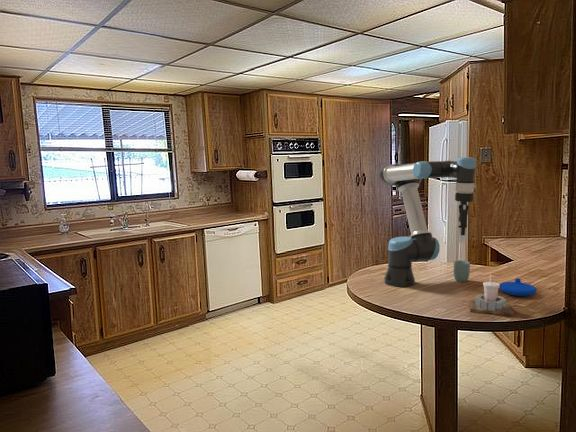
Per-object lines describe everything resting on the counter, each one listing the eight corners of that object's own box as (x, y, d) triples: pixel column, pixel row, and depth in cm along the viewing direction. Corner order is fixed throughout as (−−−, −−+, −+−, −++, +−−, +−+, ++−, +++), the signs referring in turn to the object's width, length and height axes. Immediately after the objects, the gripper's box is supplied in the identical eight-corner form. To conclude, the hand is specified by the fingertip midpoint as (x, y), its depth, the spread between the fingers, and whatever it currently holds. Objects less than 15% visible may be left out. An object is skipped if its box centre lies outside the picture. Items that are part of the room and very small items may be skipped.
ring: (476, 309, 181) (476, 301, 180) (474, 300, 191) (474, 293, 191) (507, 312, 177) (507, 303, 176) (503, 303, 188) (504, 295, 187)
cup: (470, 283, 222) (471, 264, 221) (454, 282, 224) (455, 263, 223) (467, 279, 230) (468, 260, 229) (452, 278, 231) (452, 260, 230)
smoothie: (478, 303, 187) (480, 272, 185) (493, 303, 188) (495, 271, 186) (486, 308, 181) (488, 276, 179) (501, 308, 181) (503, 275, 180)
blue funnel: (515, 287, 215) (516, 273, 214) (544, 296, 200) (545, 281, 199) (491, 291, 210) (491, 276, 209) (518, 300, 195) (519, 285, 194)
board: (470, 311, 181) (470, 308, 181) (468, 302, 193) (469, 300, 192) (513, 315, 176) (513, 313, 176) (509, 306, 187) (509, 303, 187)
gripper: (475, 195, 181) (472, 245, 184) (471, 189, 204) (468, 234, 208) (456, 195, 183) (453, 244, 187) (454, 189, 207) (452, 233, 210)
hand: (461, 239), depth 197 cm, fingers open, 13 cm apart
